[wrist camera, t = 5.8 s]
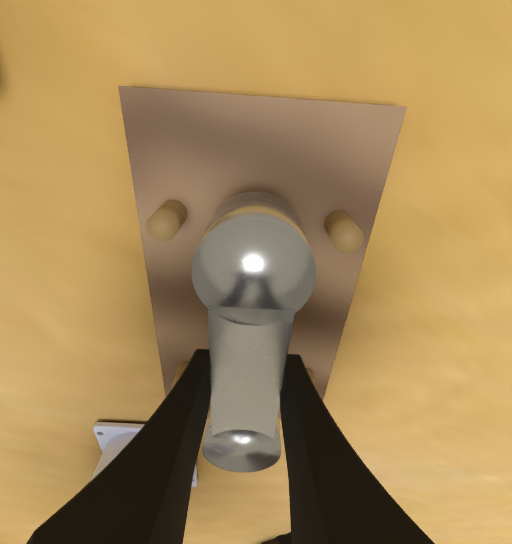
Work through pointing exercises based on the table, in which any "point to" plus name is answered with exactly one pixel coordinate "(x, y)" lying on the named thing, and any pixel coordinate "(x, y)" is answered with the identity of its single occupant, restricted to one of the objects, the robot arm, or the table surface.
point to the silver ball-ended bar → (250, 322)
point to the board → (255, 177)
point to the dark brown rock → (280, 540)
